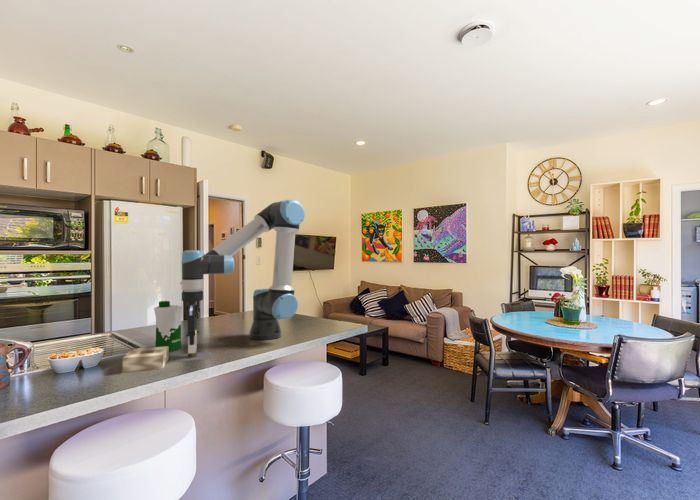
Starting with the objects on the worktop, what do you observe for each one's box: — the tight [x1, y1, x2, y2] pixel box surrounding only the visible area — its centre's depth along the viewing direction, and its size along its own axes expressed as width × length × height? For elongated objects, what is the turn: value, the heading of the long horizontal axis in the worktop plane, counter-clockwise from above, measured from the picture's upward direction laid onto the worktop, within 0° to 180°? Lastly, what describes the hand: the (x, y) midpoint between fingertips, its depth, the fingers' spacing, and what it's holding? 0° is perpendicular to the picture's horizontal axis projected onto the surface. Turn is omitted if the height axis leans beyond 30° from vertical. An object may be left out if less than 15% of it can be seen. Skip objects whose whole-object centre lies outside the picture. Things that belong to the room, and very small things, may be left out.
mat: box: [169, 351, 213, 363], centre depth 135 cm, size 14×10×1 cm
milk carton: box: [153, 300, 184, 353], centre depth 145 cm, size 9×9×20 cm
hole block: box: [121, 346, 170, 373], centre depth 125 cm, size 12×12×5 cm
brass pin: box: [187, 329, 198, 358], centre depth 135 cm, size 3×3×10 cm
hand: (192, 351), depth 135 cm, fingers closed on brass pin, 2 cm apart
